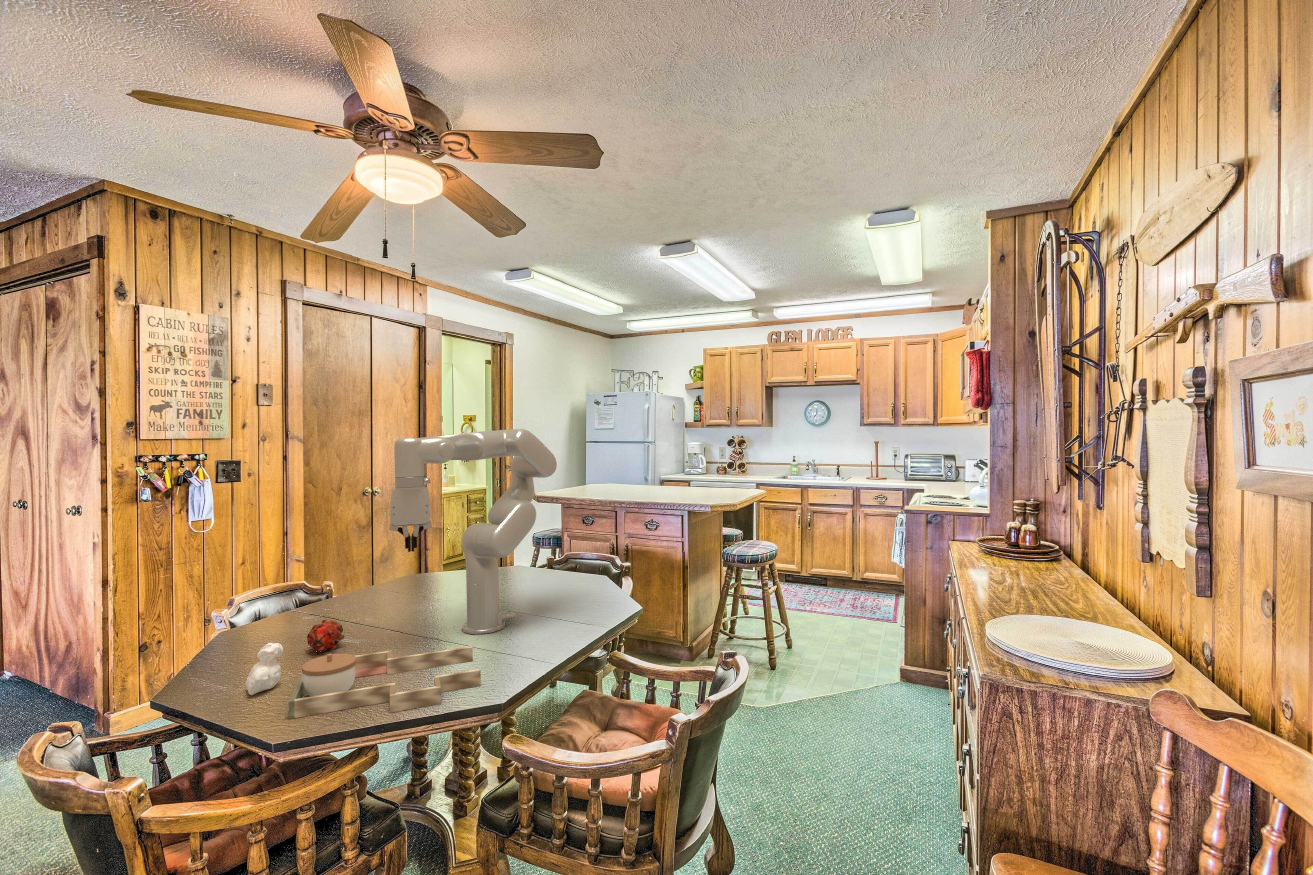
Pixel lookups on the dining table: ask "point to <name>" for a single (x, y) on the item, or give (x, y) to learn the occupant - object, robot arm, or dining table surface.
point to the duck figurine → (265, 669)
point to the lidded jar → (329, 674)
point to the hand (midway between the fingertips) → (411, 550)
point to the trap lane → (386, 692)
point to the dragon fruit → (325, 635)
